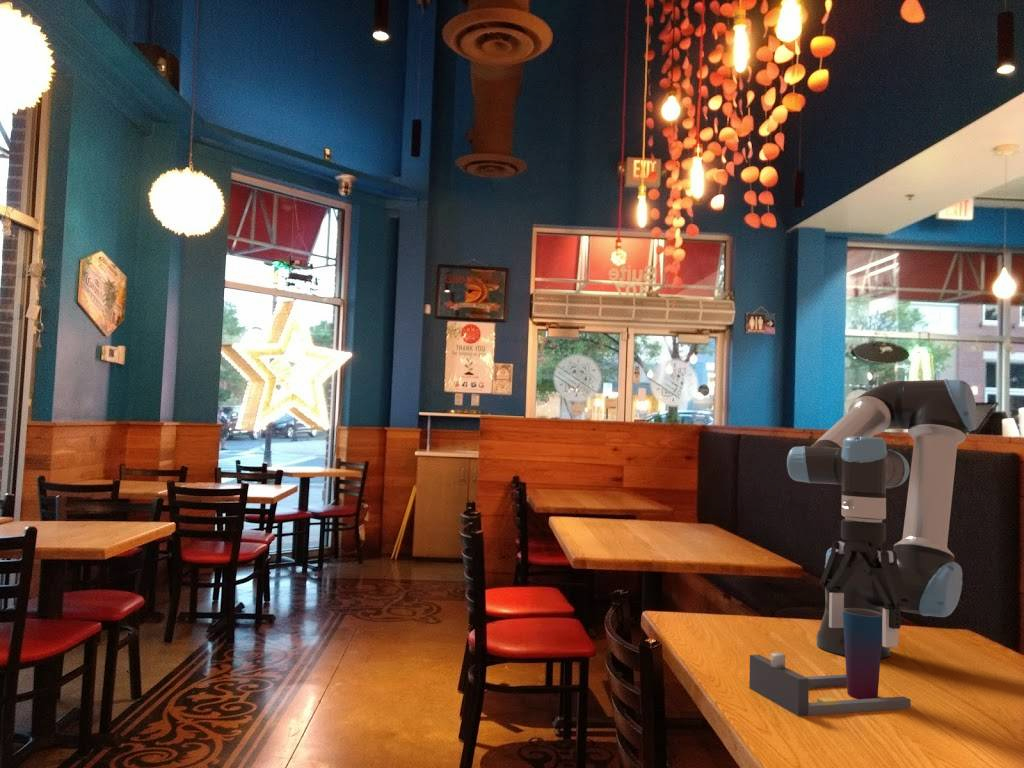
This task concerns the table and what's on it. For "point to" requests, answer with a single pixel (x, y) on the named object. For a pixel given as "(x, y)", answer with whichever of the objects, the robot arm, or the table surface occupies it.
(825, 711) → the grey u-shaped fork
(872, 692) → the cup
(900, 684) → the table surface
